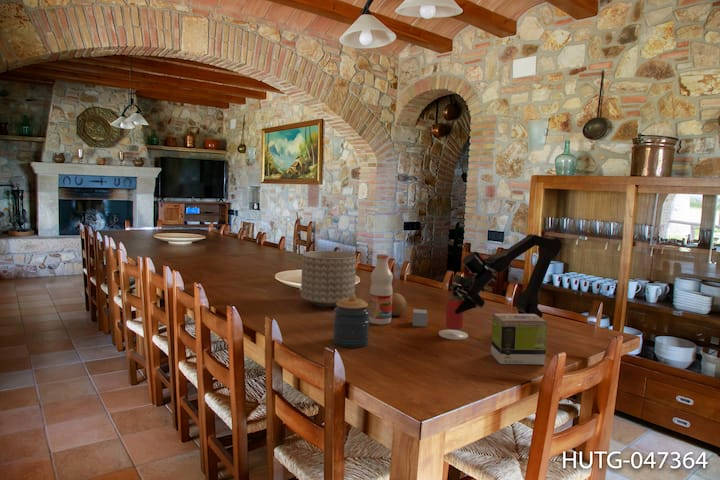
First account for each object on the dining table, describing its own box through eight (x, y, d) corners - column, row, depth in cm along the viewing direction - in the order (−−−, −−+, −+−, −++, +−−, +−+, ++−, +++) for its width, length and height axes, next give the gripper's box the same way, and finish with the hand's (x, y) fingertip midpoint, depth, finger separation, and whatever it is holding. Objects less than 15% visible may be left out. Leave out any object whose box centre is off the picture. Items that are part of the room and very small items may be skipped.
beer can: (465, 330, 178) (467, 299, 177) (448, 330, 177) (450, 299, 176) (459, 325, 185) (460, 295, 183) (443, 325, 183) (444, 295, 182)
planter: (292, 308, 212) (293, 256, 210) (311, 296, 236) (312, 249, 234) (346, 314, 206) (348, 260, 204) (359, 301, 231) (361, 253, 228)
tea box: (532, 355, 162) (536, 313, 161) (545, 365, 152) (548, 321, 151) (489, 354, 162) (492, 311, 160) (499, 364, 152) (502, 319, 150)
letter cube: (426, 323, 197) (427, 310, 196) (426, 326, 192) (427, 313, 191) (412, 322, 198) (413, 309, 197) (412, 326, 192) (413, 312, 191)
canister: (348, 334, 177) (350, 288, 175) (376, 342, 169) (378, 294, 167) (324, 342, 167) (326, 293, 165) (352, 351, 159) (354, 300, 157)
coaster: (473, 338, 178) (473, 336, 178) (449, 341, 174) (449, 339, 174) (456, 330, 188) (456, 328, 188) (433, 332, 184) (433, 330, 184)
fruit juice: (375, 317, 202) (377, 252, 199) (394, 321, 198) (398, 255, 195) (364, 322, 194) (367, 255, 191) (384, 326, 190) (387, 257, 187)
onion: (405, 319, 201) (406, 296, 200) (382, 317, 203) (383, 294, 202) (407, 313, 211) (408, 291, 210) (385, 311, 213) (386, 290, 211)
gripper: (455, 263, 188) (428, 291, 187) (478, 271, 170) (449, 302, 169) (472, 282, 191) (446, 310, 189) (497, 292, 173) (468, 323, 172)
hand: (451, 310), depth 180 cm, fingers closed on beer can, 7 cm apart
